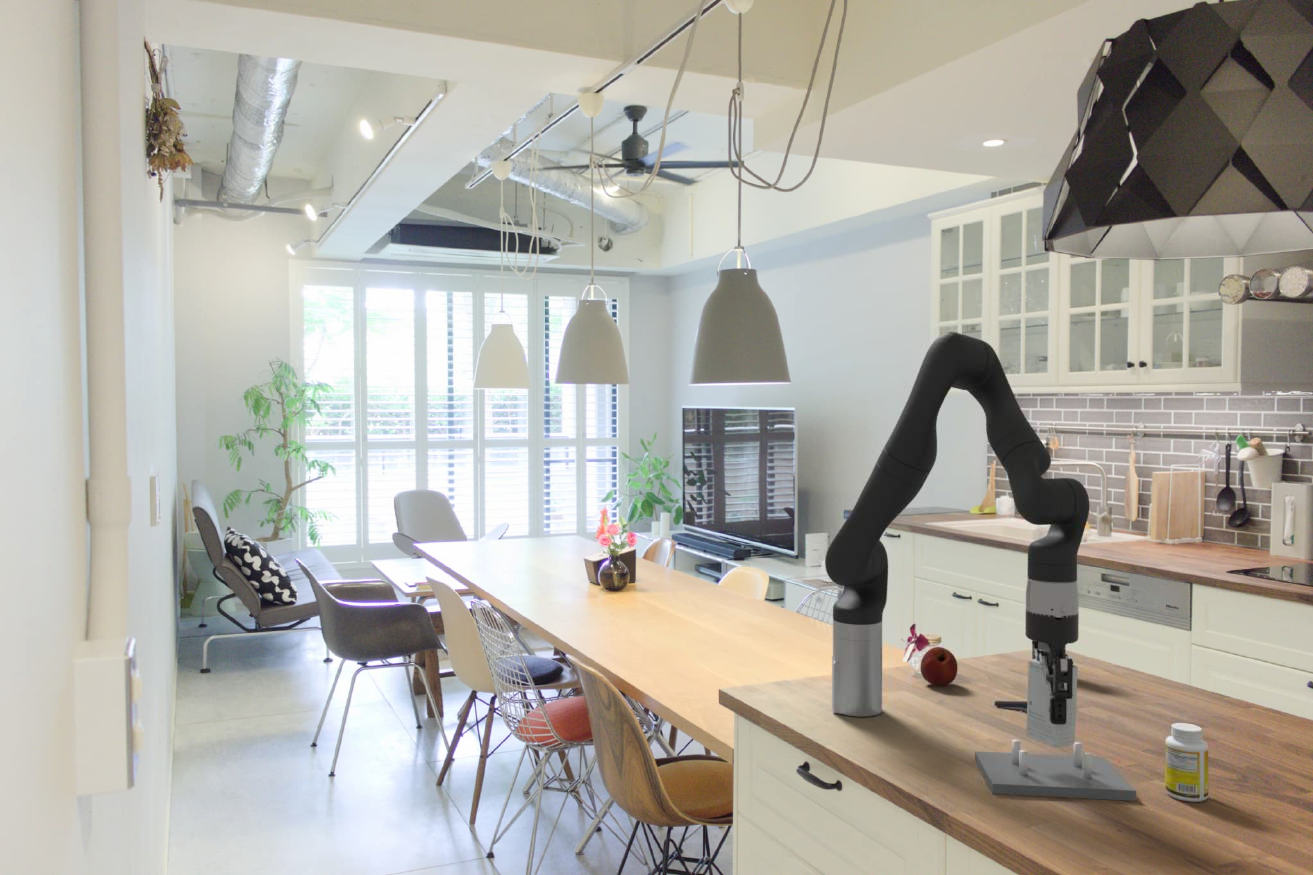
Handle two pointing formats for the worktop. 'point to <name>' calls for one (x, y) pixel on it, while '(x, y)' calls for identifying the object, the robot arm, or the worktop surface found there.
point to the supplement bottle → (1186, 763)
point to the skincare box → (1048, 710)
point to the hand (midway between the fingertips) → (1051, 715)
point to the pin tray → (1053, 775)
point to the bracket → (1012, 705)
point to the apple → (939, 666)
